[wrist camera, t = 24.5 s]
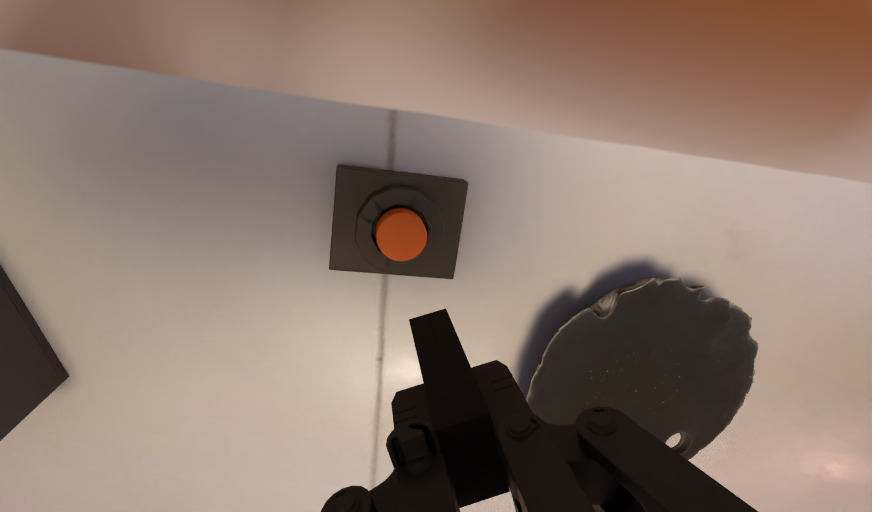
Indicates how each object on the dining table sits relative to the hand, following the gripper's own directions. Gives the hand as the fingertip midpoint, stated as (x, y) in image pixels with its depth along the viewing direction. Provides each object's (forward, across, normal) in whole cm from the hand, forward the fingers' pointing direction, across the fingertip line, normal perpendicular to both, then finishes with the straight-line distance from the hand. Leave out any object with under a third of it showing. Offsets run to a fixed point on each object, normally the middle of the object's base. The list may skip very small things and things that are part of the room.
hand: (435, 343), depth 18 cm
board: (+21, +17, -20) cm, 33 cm away
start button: (+17, 0, 0) cm, 17 cm away
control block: (+20, 0, 0) cm, 20 cm away
